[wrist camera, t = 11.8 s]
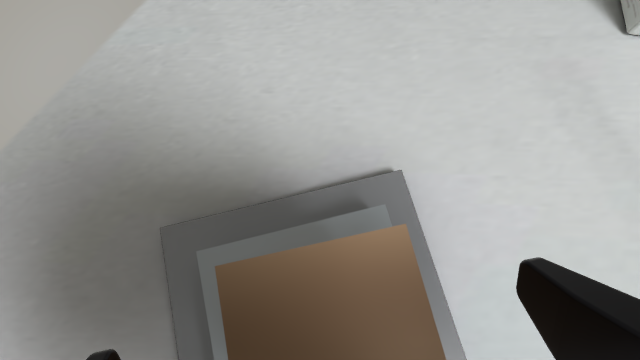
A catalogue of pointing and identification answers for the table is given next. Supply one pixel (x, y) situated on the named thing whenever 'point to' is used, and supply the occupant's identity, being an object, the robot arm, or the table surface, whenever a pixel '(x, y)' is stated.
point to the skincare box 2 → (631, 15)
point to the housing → (279, 235)
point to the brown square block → (330, 302)
